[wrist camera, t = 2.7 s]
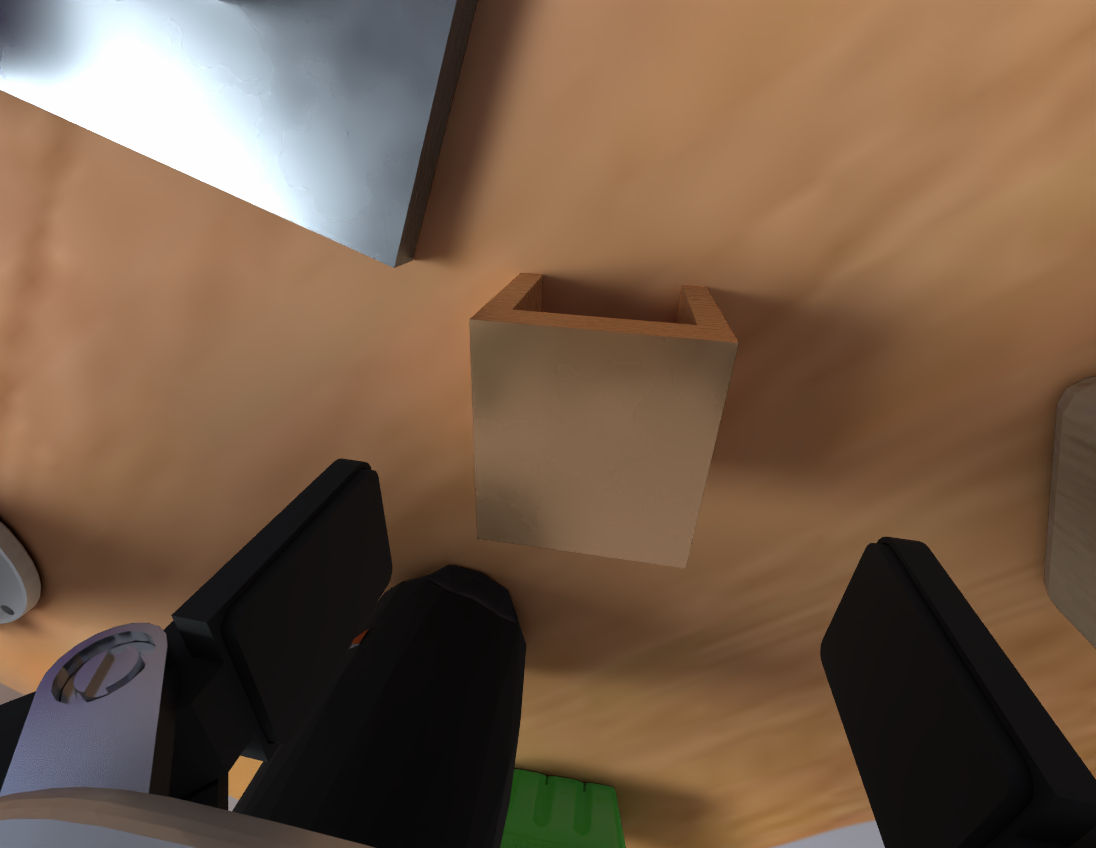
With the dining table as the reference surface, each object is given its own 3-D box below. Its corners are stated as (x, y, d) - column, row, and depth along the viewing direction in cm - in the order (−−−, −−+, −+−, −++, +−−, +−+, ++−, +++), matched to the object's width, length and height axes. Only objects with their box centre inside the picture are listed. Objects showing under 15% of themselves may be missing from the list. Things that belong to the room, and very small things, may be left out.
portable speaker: (352, 560, 25) (-233, 1362, 8) (521, 550, 23) (199, 1619, 6) (406, 669, 29) (76, 1384, 12) (557, 670, 27) (419, 1550, 10)
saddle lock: (672, 461, 20) (685, 568, 14) (518, 443, 20) (477, 538, 15) (706, 286, 16) (738, 343, 11) (520, 273, 17) (469, 319, 12)
